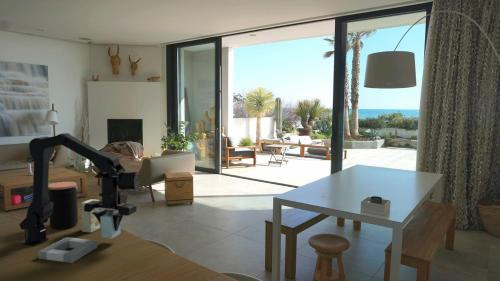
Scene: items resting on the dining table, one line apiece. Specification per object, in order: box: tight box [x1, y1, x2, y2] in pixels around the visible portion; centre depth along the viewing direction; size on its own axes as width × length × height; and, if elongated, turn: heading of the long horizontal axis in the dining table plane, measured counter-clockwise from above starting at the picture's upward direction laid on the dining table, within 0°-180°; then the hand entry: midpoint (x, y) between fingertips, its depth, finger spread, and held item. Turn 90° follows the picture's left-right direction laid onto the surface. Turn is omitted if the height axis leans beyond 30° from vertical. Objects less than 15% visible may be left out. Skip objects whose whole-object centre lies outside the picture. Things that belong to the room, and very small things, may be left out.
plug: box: [100, 210, 122, 240], centre depth 131 cm, size 4×6×10 cm
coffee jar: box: [48, 181, 79, 231], centre depth 148 cm, size 11×11×18 cm
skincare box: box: [80, 198, 101, 233], centre depth 144 cm, size 6×4×12 cm
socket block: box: [37, 236, 98, 264], centre depth 123 cm, size 13×13×2 cm
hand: (110, 230), depth 131 cm, fingers closed on plug, 4 cm apart
